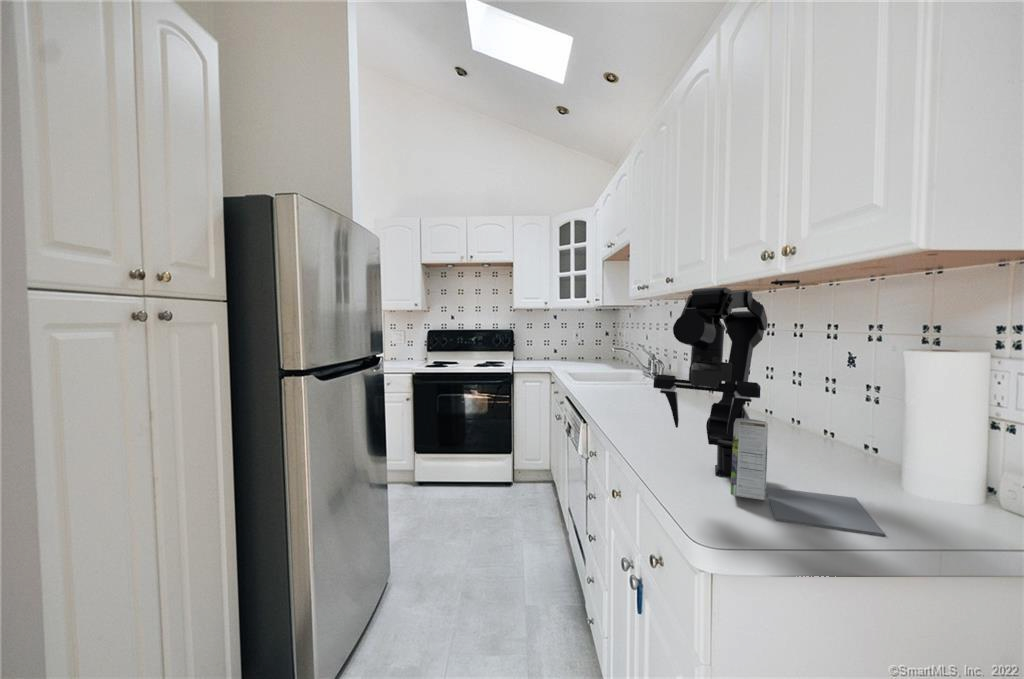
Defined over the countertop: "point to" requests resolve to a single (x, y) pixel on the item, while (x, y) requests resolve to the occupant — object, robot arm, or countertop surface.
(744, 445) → the syrup box
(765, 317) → the robot arm
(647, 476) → the countertop surface
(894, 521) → the countertop surface
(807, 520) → the mat
